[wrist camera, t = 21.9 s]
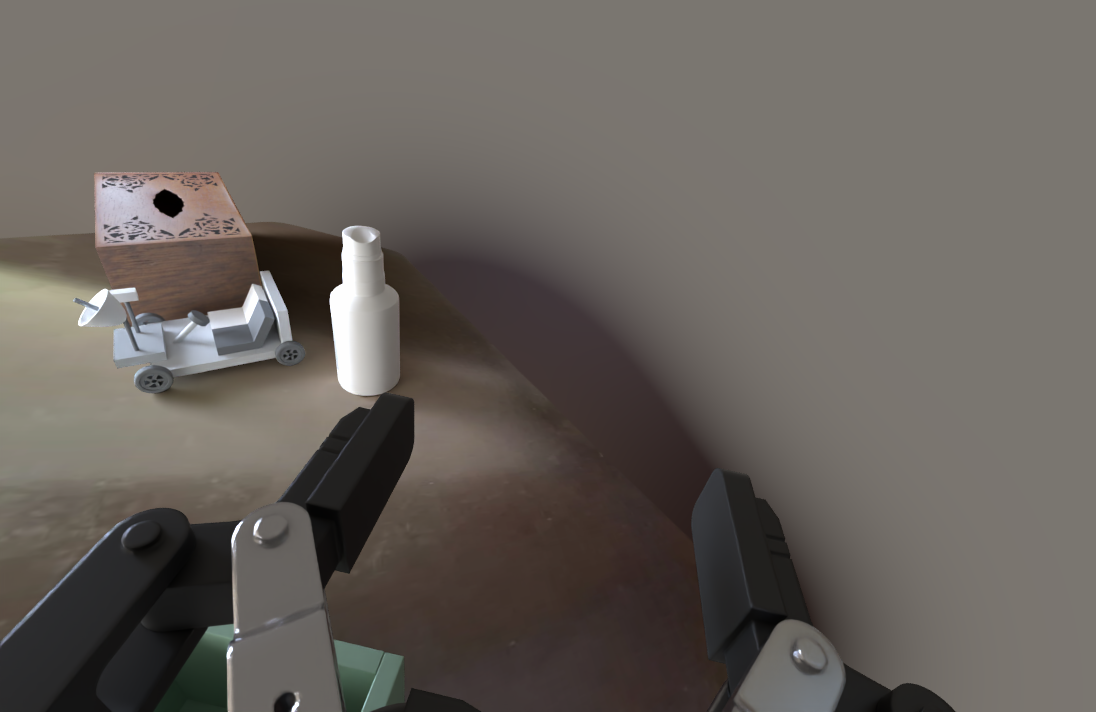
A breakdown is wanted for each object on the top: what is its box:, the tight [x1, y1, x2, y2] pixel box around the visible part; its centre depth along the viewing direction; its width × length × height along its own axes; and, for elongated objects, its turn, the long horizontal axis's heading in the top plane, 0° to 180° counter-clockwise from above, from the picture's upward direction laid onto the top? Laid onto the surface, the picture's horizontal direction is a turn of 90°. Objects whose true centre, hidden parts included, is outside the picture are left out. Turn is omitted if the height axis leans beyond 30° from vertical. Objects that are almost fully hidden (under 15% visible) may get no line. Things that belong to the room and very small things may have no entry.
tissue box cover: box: [94, 172, 262, 326], centre depth 64 cm, size 26×14×10 cm, turn 37°
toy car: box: [73, 271, 305, 393], centre depth 51 cm, size 18×10×12 cm
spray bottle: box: [330, 226, 400, 396], centre depth 50 cm, size 7×7×18 cm
